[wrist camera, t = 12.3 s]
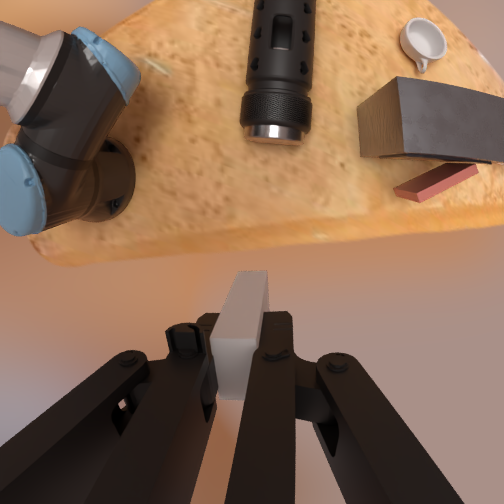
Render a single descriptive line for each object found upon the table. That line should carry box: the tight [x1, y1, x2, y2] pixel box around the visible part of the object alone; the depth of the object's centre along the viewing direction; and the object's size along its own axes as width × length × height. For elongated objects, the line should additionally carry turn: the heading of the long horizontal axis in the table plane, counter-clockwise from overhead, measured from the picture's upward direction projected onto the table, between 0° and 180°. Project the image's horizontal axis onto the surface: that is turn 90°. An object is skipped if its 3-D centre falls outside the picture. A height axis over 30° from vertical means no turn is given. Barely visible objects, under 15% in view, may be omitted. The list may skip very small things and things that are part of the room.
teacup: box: [400, 18, 447, 73], centre depth 34 cm, size 10×8×5 cm
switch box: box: [357, 76, 504, 164], centre depth 33 cm, size 16×8×18 cm, turn 94°
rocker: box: [393, 163, 478, 203], centre depth 34 cm, size 10×1×8 cm, turn 118°
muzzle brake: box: [240, 0, 316, 145], centre depth 35 cm, size 10×28×10 cm, turn 175°
